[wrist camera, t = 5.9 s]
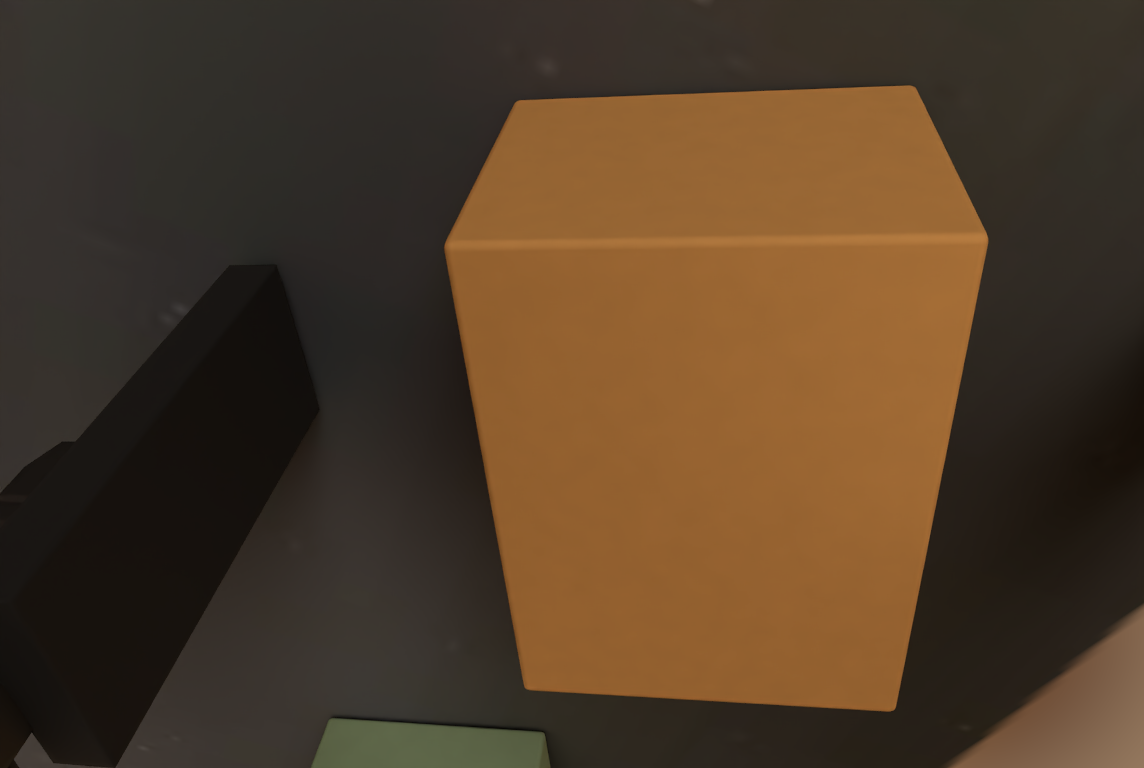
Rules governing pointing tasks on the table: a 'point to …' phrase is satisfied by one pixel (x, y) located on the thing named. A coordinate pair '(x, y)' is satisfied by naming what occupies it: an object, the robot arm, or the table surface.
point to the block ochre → (716, 385)
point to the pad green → (427, 746)
